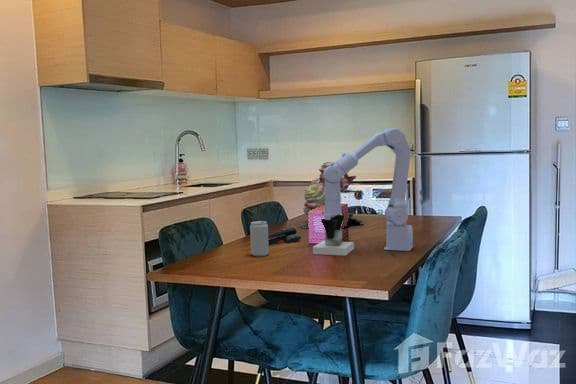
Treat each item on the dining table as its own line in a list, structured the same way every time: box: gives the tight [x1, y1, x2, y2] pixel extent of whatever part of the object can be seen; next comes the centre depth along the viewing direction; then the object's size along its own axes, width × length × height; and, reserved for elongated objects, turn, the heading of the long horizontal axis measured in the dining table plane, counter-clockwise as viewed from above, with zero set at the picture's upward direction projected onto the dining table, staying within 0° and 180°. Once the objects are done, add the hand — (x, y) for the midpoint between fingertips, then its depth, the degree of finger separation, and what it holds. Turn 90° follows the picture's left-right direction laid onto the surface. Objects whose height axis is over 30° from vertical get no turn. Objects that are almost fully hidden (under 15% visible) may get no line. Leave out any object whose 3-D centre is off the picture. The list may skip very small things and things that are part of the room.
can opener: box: [268, 227, 302, 245], centre depth 222 cm, size 18×7×6 cm, turn 123°
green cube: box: [324, 229, 343, 246], centre depth 202 cm, size 5×5×5 cm
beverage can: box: [249, 220, 270, 257], centre depth 200 cm, size 6×6×12 cm
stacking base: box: [312, 240, 355, 256], centre depth 203 cm, size 12×12×2 cm
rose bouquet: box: [300, 161, 365, 229], centre depth 259 cm, size 26×29×30 cm
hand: (333, 236), depth 202 cm, fingers open, 7 cm apart
